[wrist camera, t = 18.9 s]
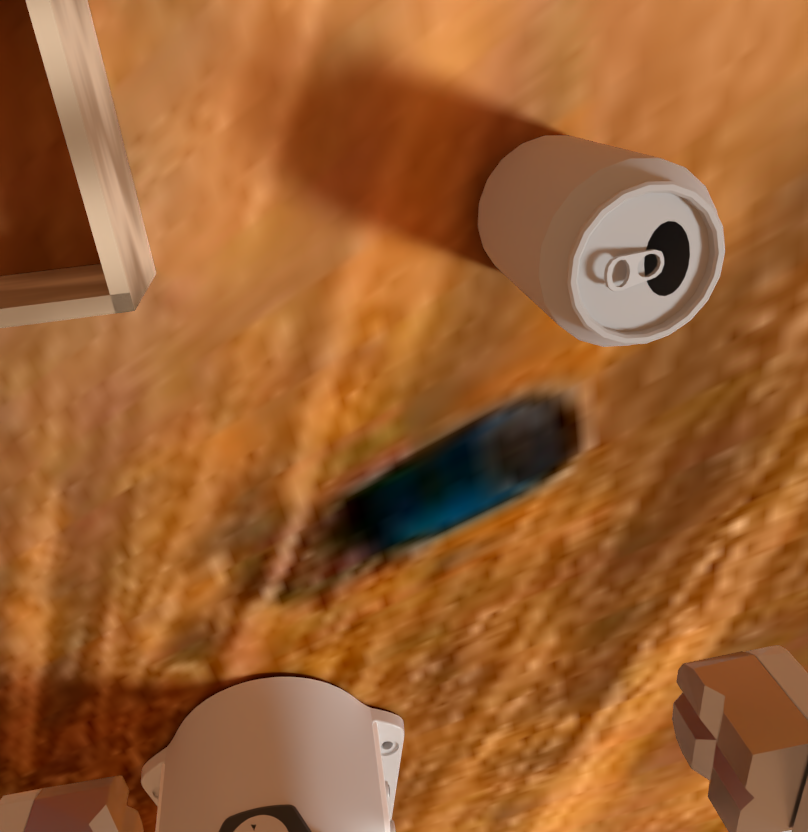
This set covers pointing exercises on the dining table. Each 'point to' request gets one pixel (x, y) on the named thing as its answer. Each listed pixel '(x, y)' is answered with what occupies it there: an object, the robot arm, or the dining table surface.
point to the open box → (84, 182)
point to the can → (602, 237)
